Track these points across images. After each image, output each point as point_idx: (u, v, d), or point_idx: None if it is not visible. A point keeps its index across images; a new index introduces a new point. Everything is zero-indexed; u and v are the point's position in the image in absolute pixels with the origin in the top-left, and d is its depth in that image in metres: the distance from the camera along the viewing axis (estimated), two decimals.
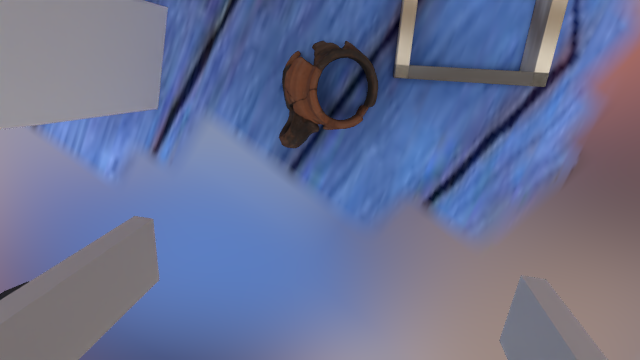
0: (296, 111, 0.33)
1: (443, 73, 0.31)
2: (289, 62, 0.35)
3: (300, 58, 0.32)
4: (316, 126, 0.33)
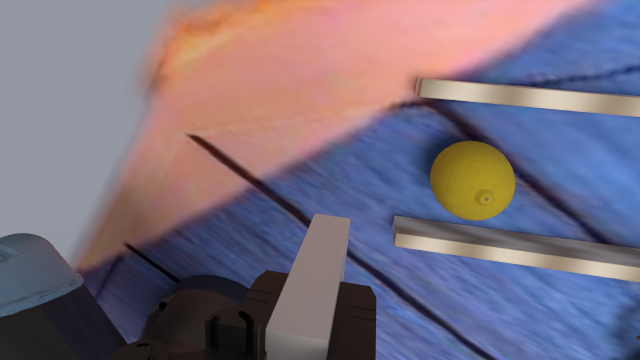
0: None
1: None
2: None
3: None
4: None
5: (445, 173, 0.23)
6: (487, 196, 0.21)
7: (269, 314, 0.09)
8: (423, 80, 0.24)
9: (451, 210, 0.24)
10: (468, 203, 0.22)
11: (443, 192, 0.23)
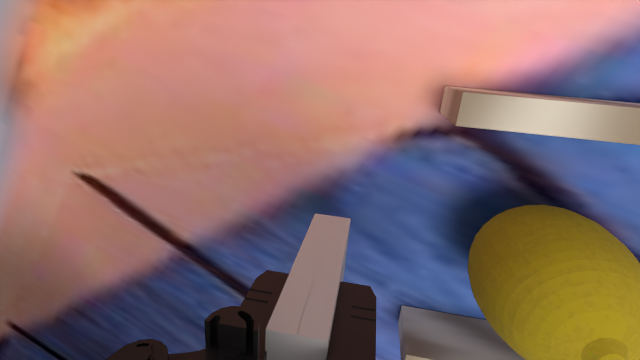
0: None
1: None
2: None
3: None
4: None
5: (508, 283, 0.11)
6: (616, 359, 0.09)
7: (269, 314, 0.09)
8: (463, 94, 0.12)
9: (518, 352, 0.12)
10: None
11: (503, 320, 0.12)
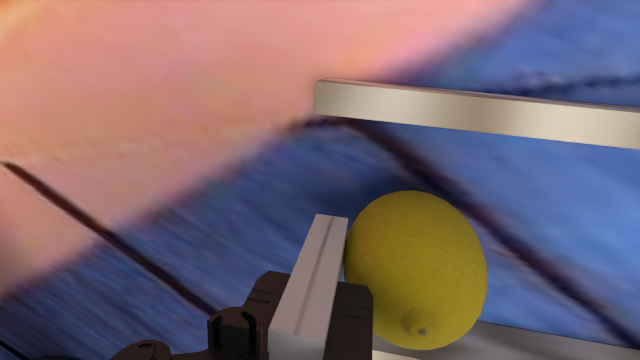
0: None
1: None
2: None
3: None
4: None
5: (354, 260, 0.12)
6: (423, 326, 0.10)
7: (271, 314, 0.09)
8: (317, 83, 0.13)
9: None
10: (391, 330, 0.11)
11: None
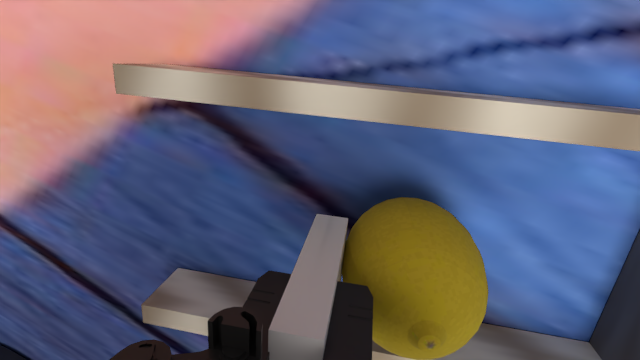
0: None
1: None
2: None
3: None
4: None
5: (360, 267, 0.12)
6: (432, 339, 0.10)
7: (271, 314, 0.09)
8: (114, 65, 0.14)
9: None
10: (396, 340, 0.11)
11: None
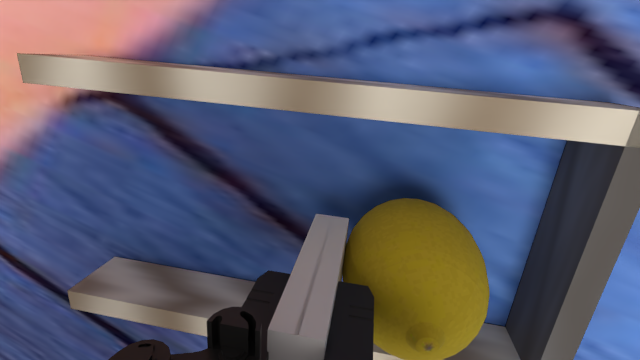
0: None
1: (569, 329, 0.14)
2: None
3: None
4: None
5: (360, 268, 0.12)
6: (431, 342, 0.10)
7: (270, 314, 0.09)
8: (19, 55, 0.14)
9: None
10: (394, 342, 0.11)
11: None
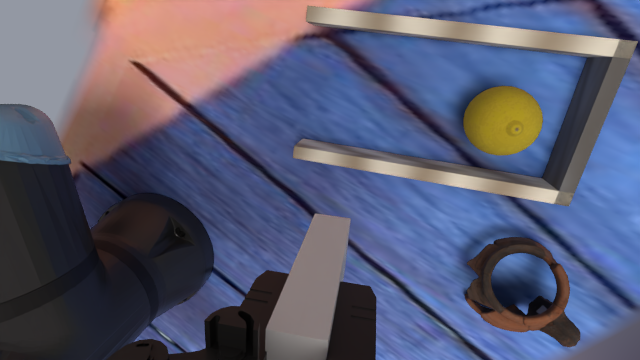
0: (538, 329, 0.32)
1: (581, 156, 0.28)
2: (477, 311, 0.36)
3: (483, 315, 0.33)
4: None
5: (482, 107, 0.26)
6: (518, 126, 0.24)
7: (269, 314, 0.09)
8: (308, 6, 0.28)
9: (481, 141, 0.26)
10: (499, 133, 0.25)
11: (477, 123, 0.26)
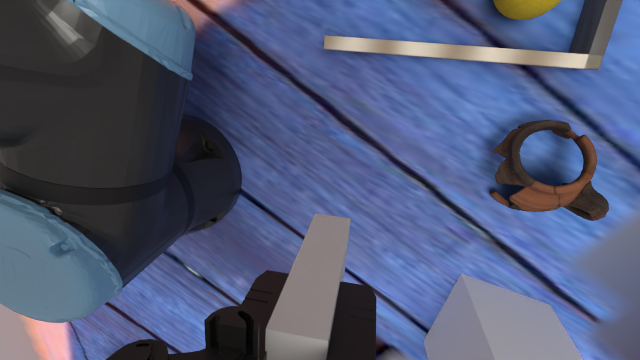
0: (568, 203, 0.33)
1: (609, 14, 0.29)
2: (504, 202, 0.37)
3: (512, 196, 0.34)
4: (587, 183, 0.32)
5: None
6: None
7: (269, 314, 0.09)
8: None
9: None
10: None
11: None
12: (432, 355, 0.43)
